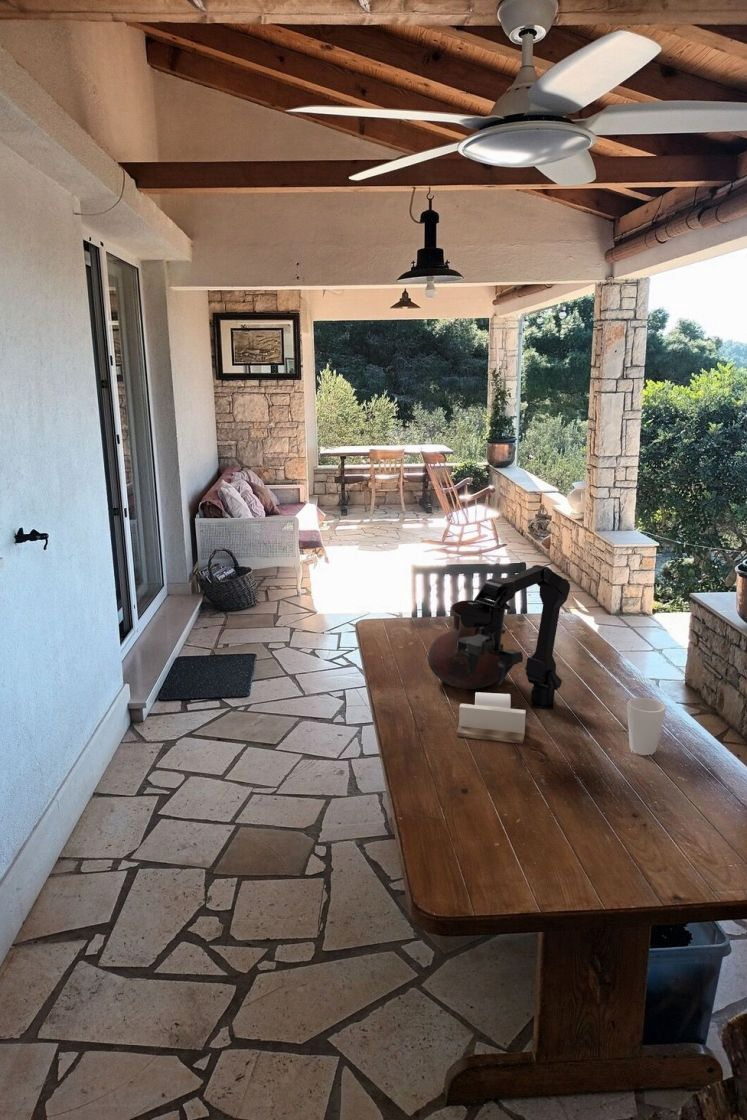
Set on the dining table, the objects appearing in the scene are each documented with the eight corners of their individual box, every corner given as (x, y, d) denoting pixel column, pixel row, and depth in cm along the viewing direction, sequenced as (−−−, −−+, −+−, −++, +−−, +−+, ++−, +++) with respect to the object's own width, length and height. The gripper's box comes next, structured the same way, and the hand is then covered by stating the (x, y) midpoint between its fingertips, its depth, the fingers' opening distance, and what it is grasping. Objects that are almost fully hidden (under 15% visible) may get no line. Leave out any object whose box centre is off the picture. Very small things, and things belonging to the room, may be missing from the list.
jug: (417, 691, 245) (418, 615, 240) (441, 664, 268) (442, 595, 262) (495, 703, 236) (498, 624, 231) (512, 674, 259) (515, 602, 253)
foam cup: (661, 745, 209) (665, 700, 206) (661, 761, 200) (666, 714, 197) (624, 740, 212) (627, 695, 209) (623, 755, 203) (626, 709, 201)
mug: (509, 727, 220) (510, 700, 219) (474, 724, 222) (475, 698, 220) (508, 709, 232) (509, 684, 230) (475, 707, 233) (475, 682, 232)
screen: (524, 733, 216) (525, 710, 214) (522, 743, 210) (523, 719, 208) (460, 726, 221) (460, 703, 219) (456, 736, 215) (457, 712, 213)
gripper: (447, 620, 215) (441, 674, 217) (503, 636, 202) (495, 694, 205) (472, 616, 223) (466, 669, 225) (527, 632, 210) (520, 687, 212)
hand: (485, 679), depth 217 cm, fingers open, 9 cm apart
